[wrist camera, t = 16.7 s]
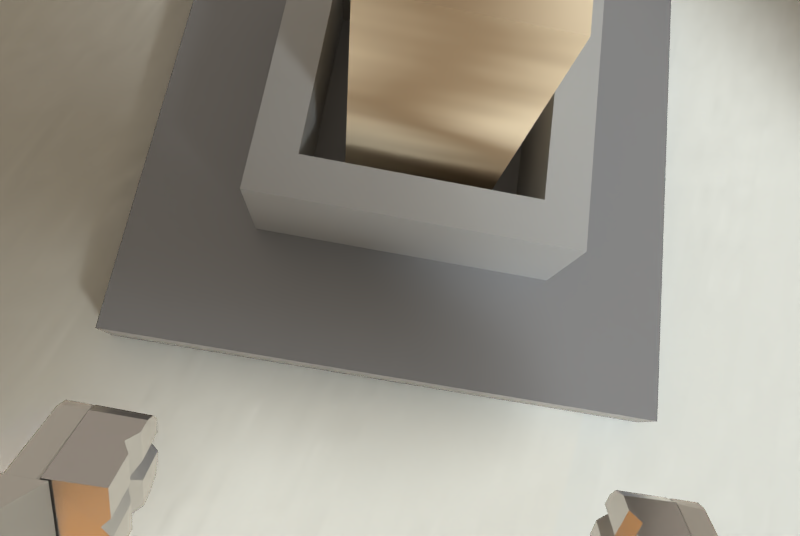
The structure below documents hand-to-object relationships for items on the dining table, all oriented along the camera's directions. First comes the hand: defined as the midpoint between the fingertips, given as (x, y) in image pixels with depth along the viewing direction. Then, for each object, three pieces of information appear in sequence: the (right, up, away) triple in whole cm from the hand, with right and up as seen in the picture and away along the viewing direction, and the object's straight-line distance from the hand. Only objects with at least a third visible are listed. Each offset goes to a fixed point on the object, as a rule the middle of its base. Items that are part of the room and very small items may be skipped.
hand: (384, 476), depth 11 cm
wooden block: (+1, +8, +8) cm, 12 cm away
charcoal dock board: (+1, +8, +10) cm, 12 cm away
